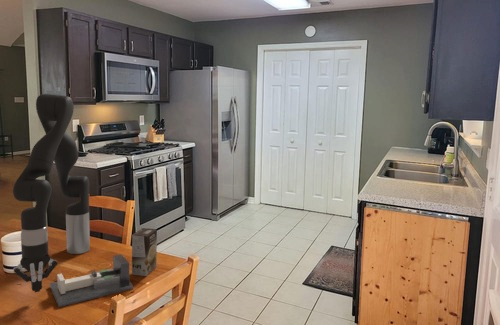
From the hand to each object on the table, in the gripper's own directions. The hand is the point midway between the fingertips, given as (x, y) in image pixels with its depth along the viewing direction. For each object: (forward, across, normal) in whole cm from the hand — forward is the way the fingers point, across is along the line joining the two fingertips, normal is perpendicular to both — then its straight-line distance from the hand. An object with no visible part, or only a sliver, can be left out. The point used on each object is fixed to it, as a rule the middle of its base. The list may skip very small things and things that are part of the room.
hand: (36, 291), depth 125 cm
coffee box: (+4, -38, -4) cm, 38 cm away
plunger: (+2, -13, 0) cm, 13 cm away
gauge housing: (+3, -17, 0) cm, 17 cm away
